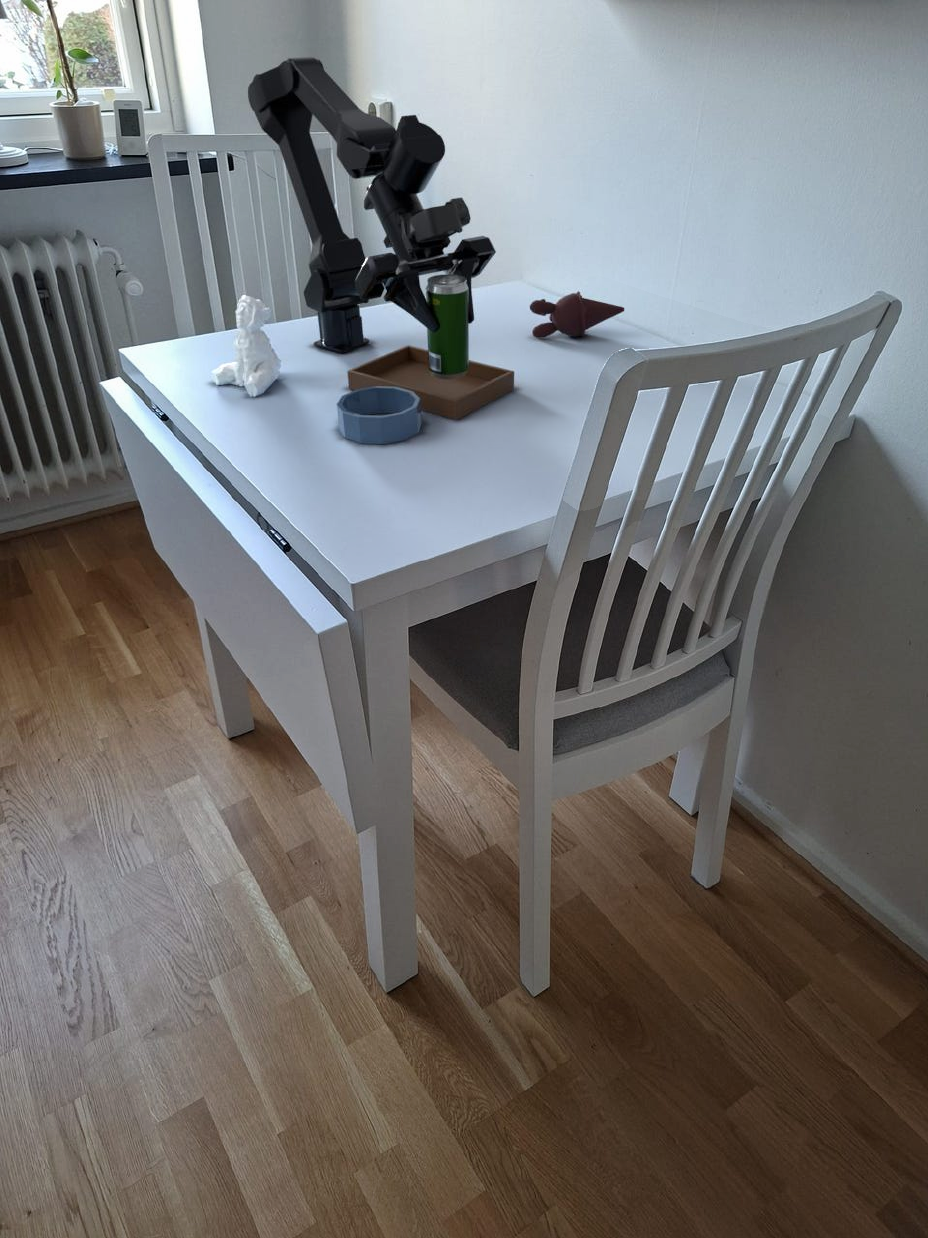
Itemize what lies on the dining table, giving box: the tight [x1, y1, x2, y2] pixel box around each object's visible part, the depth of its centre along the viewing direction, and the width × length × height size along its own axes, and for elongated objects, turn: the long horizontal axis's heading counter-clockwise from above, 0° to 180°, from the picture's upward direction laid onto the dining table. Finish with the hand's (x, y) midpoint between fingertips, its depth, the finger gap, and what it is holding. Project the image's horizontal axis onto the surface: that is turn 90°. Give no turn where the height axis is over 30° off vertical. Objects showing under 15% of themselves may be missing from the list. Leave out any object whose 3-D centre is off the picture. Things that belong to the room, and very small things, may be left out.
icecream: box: [529, 290, 625, 339], centre depth 138 cm, size 7×7×15 cm
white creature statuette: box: [211, 295, 282, 398], centre depth 121 cm, size 10×9×12 cm
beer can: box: [425, 273, 470, 379], centre depth 112 cm, size 5×5×12 cm
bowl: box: [336, 386, 422, 445], centre depth 110 cm, size 10×10×4 cm
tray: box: [346, 344, 515, 421], centre depth 121 cm, size 19×13×3 cm
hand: (453, 326), depth 111 cm, fingers closed on beer can, 5 cm apart
